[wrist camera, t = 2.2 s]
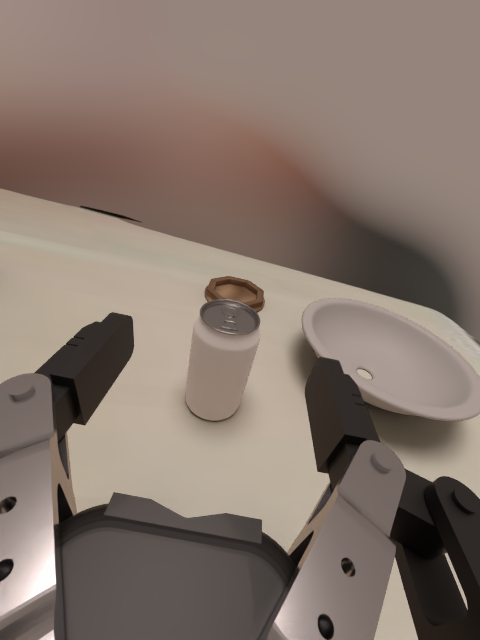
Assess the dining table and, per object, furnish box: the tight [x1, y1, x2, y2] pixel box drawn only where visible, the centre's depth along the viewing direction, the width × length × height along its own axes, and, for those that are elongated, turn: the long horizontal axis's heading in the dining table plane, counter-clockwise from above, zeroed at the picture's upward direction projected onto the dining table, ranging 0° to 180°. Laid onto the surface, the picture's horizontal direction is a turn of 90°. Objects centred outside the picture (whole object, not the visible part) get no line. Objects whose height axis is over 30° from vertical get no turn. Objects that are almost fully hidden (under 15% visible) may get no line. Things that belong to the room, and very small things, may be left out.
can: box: [185, 299, 260, 421], centre depth 27 cm, size 6×6×12 cm
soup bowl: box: [302, 298, 480, 421], centre depth 37 cm, size 24×24×7 cm
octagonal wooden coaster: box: [205, 276, 265, 313], centre depth 50 cm, size 12×12×2 cm
